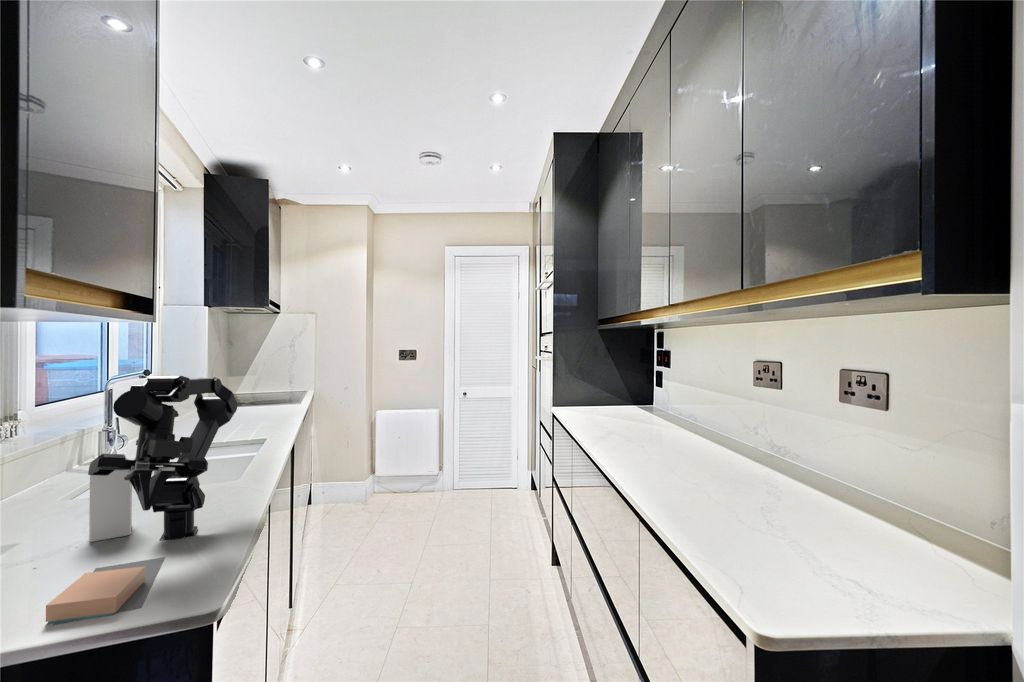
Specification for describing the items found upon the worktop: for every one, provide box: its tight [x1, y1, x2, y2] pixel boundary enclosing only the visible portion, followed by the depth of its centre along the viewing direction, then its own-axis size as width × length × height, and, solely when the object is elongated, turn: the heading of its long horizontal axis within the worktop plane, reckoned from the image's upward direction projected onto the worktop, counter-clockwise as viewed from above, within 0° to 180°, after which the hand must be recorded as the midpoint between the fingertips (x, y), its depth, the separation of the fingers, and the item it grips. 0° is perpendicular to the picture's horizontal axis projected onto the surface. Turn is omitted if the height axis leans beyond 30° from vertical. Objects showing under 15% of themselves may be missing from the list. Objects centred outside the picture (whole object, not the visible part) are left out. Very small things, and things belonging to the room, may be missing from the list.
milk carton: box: [88, 448, 133, 543], centre depth 111 cm, size 7×7×19 cm
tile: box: [45, 566, 146, 624], centre depth 81 cm, size 3×9×11 cm
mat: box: [52, 556, 166, 626], centre depth 86 cm, size 21×11×1 cm, turn 27°
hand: (146, 510), depth 94 cm, fingers closed
